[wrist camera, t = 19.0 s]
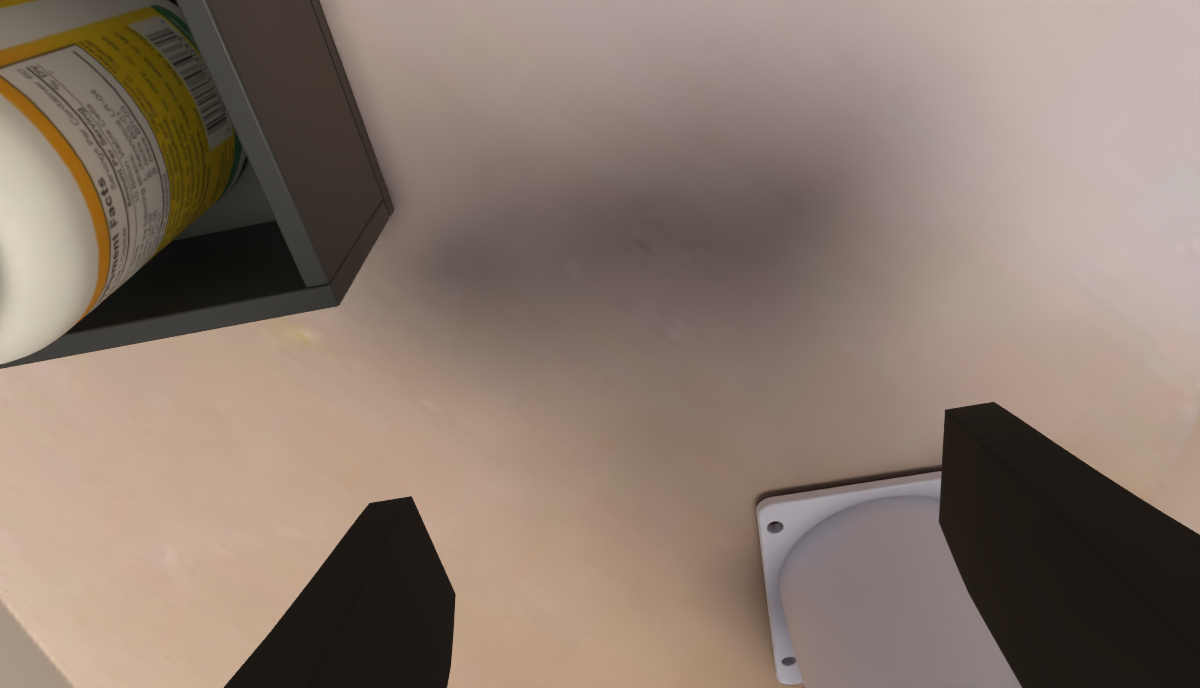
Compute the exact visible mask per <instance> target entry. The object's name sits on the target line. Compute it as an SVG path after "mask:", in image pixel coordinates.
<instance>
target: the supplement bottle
mask: <svg viewBox="0 0 1200 688" xmlns="http://www.w3.org/2000/svg"><path fill="white" fill-rule="evenodd" d="M245 158H246V154H245V152H244V149H243V147H242V145H241V143H240V141H239V138H238V136H237V134H236V132H235V130H234V127H233V125H232V123H231V121H230V119H229V116H228V114H227V112H226V110H225V108H224V105H223V103H222V101H221V99H220V97H219V94H218V92H217V90H216V88H215V86H214V83H213V81H212V79H211V77H210V75H209V72H208V70H207V68H206V66H205V64H204V61H203V59H202V57H201V55H200V53H199V50H198V48H197V46H196V44H195V42H194V39H193V37H192V35H191V33H190V31H189V28H188V26H187V24H186V22H185V20H184V17H183V15H182V13H181V11H180V9H179V7H177V6H176V5H175V4H173V3H172V2H170V1H169V0H0V364H4V363H8V362H11V361H14V360H17V359H20V358H23V357H25V356H28V355H30V354H33V353H35V352H37V351H39V350H41V349H43V348H44V347H46V346H48V345H49V344H51V343H52V342H54V341H55V340H57V339H58V338H59V337H61V336H62V335H63V334H65V333H66V332H67V331H68V330H69V329H71V328H72V327H73V326H74V325H75V324H77V323H78V322H79V321H80V320H81V319H82V318H84V317H85V316H86V315H87V314H89V313H90V312H91V311H92V310H94V309H95V308H96V307H97V306H98V305H99V304H100V303H101V302H102V301H104V300H105V299H106V298H107V297H108V296H109V295H110V294H112V293H113V292H114V291H115V290H117V289H118V288H119V287H120V286H121V285H122V284H123V283H125V282H126V281H127V280H128V279H129V278H130V277H132V276H133V275H134V274H135V273H136V272H137V271H138V270H139V269H140V268H141V267H142V266H144V265H145V264H146V263H147V262H148V261H149V260H150V259H151V258H153V257H154V256H155V255H156V254H157V253H158V252H160V251H161V250H162V249H163V248H164V247H165V246H167V245H168V244H169V243H170V242H171V241H172V240H174V239H175V238H176V237H177V236H178V235H179V234H180V233H182V232H183V231H184V230H185V229H186V228H187V227H188V226H190V225H191V224H192V223H193V222H195V221H196V220H197V219H198V218H199V217H200V216H202V215H203V214H204V213H205V212H206V211H208V210H209V209H210V208H211V207H212V206H213V205H214V204H215V203H217V202H218V201H219V200H220V199H221V198H222V197H223V196H224V195H225V194H226V193H227V192H228V191H229V190H230V188H231V187H232V186H233V185H234V183H235V182H236V180H237V178H238V176H239V174H240V172H241V170H242V168H243V165H244V162H245Z"/></svg>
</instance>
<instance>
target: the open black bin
mask: <svg viewBox="0 0 1200 688" xmlns="http://www.w3.org/2000/svg"><path fill="white" fill-rule="evenodd" d="M169 1H170V2H172V3H173V4H175V5H176V6H177V7H179V9H180V11H181V13H182V15H183V17H184V20H185V22H186V24H187V26H188V28H189V31H190V33H191V35H192V37H193V39H194V42H195V44H196V46H197V48H198V50H199V53H200V55H201V57H202V59H203V61H204V64H205V66H206V68H207V70H208V72H209V75H210V77H211V79H212V81H213V83H214V86H215V88H216V90H217V92H218V94H219V97H220V99H221V101H222V103H223V105H224V108H225V110H226V112H227V114H228V116H229V119H230V121H231V123H232V125H233V127H234V130H235V132H236V134H237V136H238V138H239V141H240V143H241V145H242V147H243V149H244V152H245V154H246V158H245V162H244V165H243V168H242V170H241V172H240V174H239V176H238V178H237V180H236V182H235V183H234V185H233V186H232V187H231V188H230V190H229V191H228V192H227V193H226V194H225V195H224V196H223V197H222V198H221V199H220V200H219V201H218V202H217V203H215V204H214V205H213V206H212V207H211V208H210V209H209V210H208V211H206V212H205V213H204V214H203V215H202V216H200V217H199V218H198V219H197V220H196V221H195V222H193V223H192V224H191V225H190V226H188V227H187V228H186V229H185V230H184V231H183V232H182V233H180V234H179V235H178V236H177V237H176V238H175V239H174V240H172V241H171V242H170V243H169V244H168V245H167V246H165V247H164V248H163V249H162V250H161V251H160V252H158V253H157V254H156V255H155V256H154V257H153V258H151V259H150V260H149V261H148V262H147V263H146V264H145V265H144V266H142V267H141V268H140V269H139V270H138V271H137V272H136V273H135V274H134V275H133V276H132V277H130V278H129V279H128V280H127V281H126V282H125V283H123V284H122V285H121V286H120V287H119V288H118V289H117V290H115V291H114V292H113V293H112V294H110V295H109V296H108V297H107V298H106V299H105V300H104V301H102V302H101V303H100V304H99V305H98V306H97V307H96V308H95V309H94V310H92V311H91V312H90V313H89V314H87V315H86V316H85V317H84V318H82V319H81V320H80V321H79V322H78V323H77V324H75V325H74V326H73V327H72V328H71V329H69V330H68V331H67V332H66V333H65V334H63V335H62V336H61V337H59V338H58V339H57V340H55V341H54V342H52V343H51V344H49V345H48V346H46V347H44V348H43V349H41V350H39V351H37V352H35V353H33V354H30V355H28V356H25V357H23V358H20V359H17V360H14V361H11V362H8V363H4V364H0V369H2V368H7V367H13V366H18V365H23V364H29V363H34V362H39V361H45V360H50V359H56V358H61V357H66V356H72V355H77V354H83V353H88V352H93V351H99V350H104V349H109V348H115V347H120V346H126V345H131V344H136V343H142V342H147V341H152V340H158V339H163V338H169V337H174V336H179V335H185V334H190V333H196V332H201V331H206V330H212V329H217V328H222V327H228V326H233V325H239V324H244V323H249V322H255V321H260V320H265V319H271V318H276V317H282V316H287V315H292V314H298V313H303V312H308V311H314V310H319V309H325V308H330V307H335V306H338V305H340V303H341V301H342V300H343V298H344V296H345V294H346V293H347V291H348V289H349V288H350V286H351V284H352V282H353V281H354V279H355V277H356V275H357V274H358V272H359V270H360V268H361V267H362V265H363V263H364V261H365V260H366V258H367V256H368V254H369V253H370V251H371V249H372V247H373V246H374V244H375V242H376V240H377V239H378V237H379V235H380V233H381V232H382V230H383V228H384V226H385V225H386V223H387V221H388V220H389V217H390V216H391V214H392V213H393V211H394V208H393V205H392V203H391V200H390V197H389V194H388V192H387V189H386V186H385V183H384V181H383V178H382V175H381V172H380V170H379V167H378V164H377V161H376V159H375V156H374V153H373V150H372V148H371V145H370V142H369V139H368V137H367V134H366V131H365V128H364V125H363V123H362V120H361V117H360V114H359V112H358V109H357V106H356V103H355V101H354V98H353V95H352V92H351V90H350V87H349V84H348V81H347V79H346V76H345V73H344V70H343V68H342V65H341V62H340V59H339V57H338V54H337V51H336V48H335V46H334V43H333V40H332V37H331V35H330V32H329V29H328V26H327V24H326V21H325V18H324V15H323V13H322V10H321V7H320V4H319V2H318V0H169Z"/></svg>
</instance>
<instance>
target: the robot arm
mask: <svg viewBox="0 0 1200 688" xmlns="http://www.w3.org/2000/svg"><path fill="white" fill-rule="evenodd" d="M756 514H757V522H758V531H759V539H760V547H761V556H762V564H763V572H764V581H765V589H766V597H767V606H768V614H769V622H770V631H771V639H772V647H773V656H774V664H775V672H776V676H777V679H778V681H779V682H780V683H782V684H786V685H793V684H801V683H803V684H804V688H1200V535H1199V534H1198V533H1196V532H1194V531H1193V530H1191V529H1189V528H1188V527H1186V526H1184V525H1182V524H1181V523H1179V522H1177V521H1176V520H1174V519H1173V518H1171V517H1169V516H1168V515H1166V514H1164V513H1162V512H1161V511H1160V510H1158V509H1156V508H1155V507H1153V506H1151V505H1150V504H1148V503H1147V502H1145V501H1143V500H1142V499H1140V498H1139V497H1137V496H1136V495H1134V494H1132V493H1131V492H1129V491H1128V490H1126V489H1125V488H1123V487H1121V486H1120V485H1118V484H1117V483H1115V482H1114V481H1112V480H1111V479H1109V478H1107V477H1106V476H1104V475H1103V474H1101V473H1100V472H1098V471H1097V470H1095V469H1094V468H1092V467H1091V466H1089V465H1088V464H1086V463H1085V462H1083V461H1082V460H1080V459H1079V458H1077V457H1076V456H1074V455H1073V454H1071V453H1070V452H1068V451H1067V450H1065V449H1064V448H1062V447H1061V446H1059V445H1058V444H1056V443H1055V442H1053V441H1052V440H1050V439H1049V438H1047V437H1046V436H1044V435H1043V434H1041V433H1040V432H1038V431H1037V430H1035V429H1034V428H1032V427H1031V426H1029V425H1028V424H1026V423H1025V422H1024V421H1022V420H1021V419H1019V418H1018V417H1016V416H1015V415H1013V414H1012V413H1010V412H1009V411H1007V410H1005V409H1004V408H1002V407H1001V406H999V405H998V404H996V403H995V402H990V403H984V404H978V405H972V406H966V407H959V408H953V409H947V410H945V422H944V439H943V456H942V471H938V472H931V473H925V474H918V475H912V476H905V477H899V478H892V479H886V480H879V481H873V482H866V483H860V484H853V485H847V486H840V487H834V488H827V489H821V490H814V491H808V492H801V493H795V494H788V495H782V496H775V497H769V498H766V499H764V500H762V501H761V502H760V503H759V504H758V505H757V508H756ZM772 522H778V523H776V524H770V523H772ZM454 612H455V592H454V590H453V588H452V585H451V583H450V581H449V579H448V576H447V574H446V572H445V570H444V567H443V565H442V563H441V561H440V559H439V556H438V554H437V552H436V550H435V547H434V545H433V543H432V541H431V538H430V536H429V534H428V532H427V530H426V527H425V525H424V523H423V521H422V518H421V516H420V514H419V512H418V510H417V507H416V505H415V503H414V501H413V498H412V496H410V497H404V498H398V499H392V500H386V501H380V502H373V503H369V505H368V506H367V507H366V508H365V510H364V511H363V512H362V513H361V515H360V516H359V517H358V518H357V520H356V521H355V522H354V524H353V525H352V526H351V528H350V529H349V530H348V531H347V533H346V534H345V535H344V537H343V538H342V539H341V541H340V542H339V543H338V545H337V546H336V547H335V549H334V550H333V551H332V553H331V554H330V555H329V557H328V558H327V559H326V561H325V562H324V563H323V565H322V566H321V567H320V569H319V570H318V571H317V573H316V574H315V575H314V577H313V578H312V579H311V580H310V582H309V583H308V584H307V586H306V587H305V588H304V589H303V591H302V592H301V593H300V595H299V596H298V597H297V598H296V600H295V601H294V602H293V604H292V605H291V606H290V607H289V609H288V610H287V611H286V613H285V614H284V615H283V616H282V618H281V619H280V620H279V622H278V623H277V624H276V625H275V627H274V628H273V629H272V631H271V632H270V633H269V634H268V636H267V637H266V638H265V639H264V640H263V642H262V643H261V644H260V645H259V646H258V647H257V649H256V650H255V651H254V652H253V653H252V655H251V656H250V657H249V658H248V659H247V661H246V662H245V663H244V664H243V665H242V666H241V668H240V669H239V670H238V671H237V672H236V674H235V675H234V676H233V677H232V678H231V680H230V681H229V682H228V683H227V684H226V685H225V687H224V688H447V685H448V679H449V673H450V668H451V657H452V644H453V631H454Z"/></svg>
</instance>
